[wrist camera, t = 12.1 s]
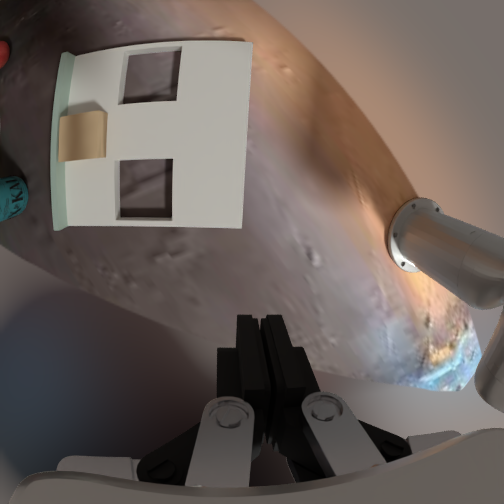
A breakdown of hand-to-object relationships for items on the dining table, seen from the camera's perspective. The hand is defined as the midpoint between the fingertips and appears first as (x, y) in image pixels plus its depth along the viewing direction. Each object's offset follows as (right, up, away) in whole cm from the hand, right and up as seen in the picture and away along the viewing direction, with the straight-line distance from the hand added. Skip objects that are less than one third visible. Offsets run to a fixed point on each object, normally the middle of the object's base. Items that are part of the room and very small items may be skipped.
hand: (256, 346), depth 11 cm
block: (-22, +19, +20) cm, 35 cm away
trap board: (-14, +19, +23) cm, 33 cm away
